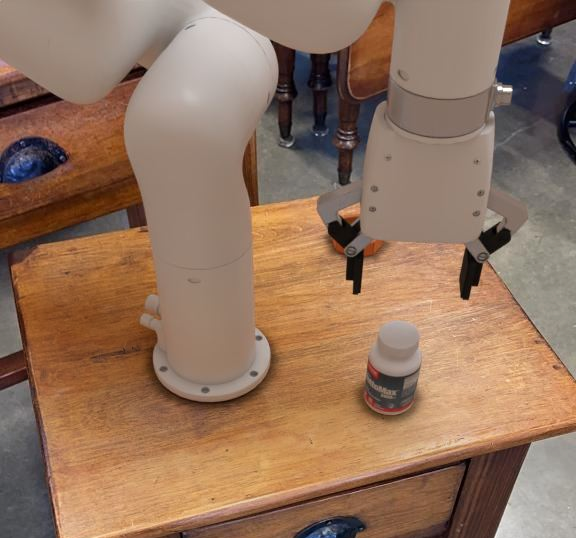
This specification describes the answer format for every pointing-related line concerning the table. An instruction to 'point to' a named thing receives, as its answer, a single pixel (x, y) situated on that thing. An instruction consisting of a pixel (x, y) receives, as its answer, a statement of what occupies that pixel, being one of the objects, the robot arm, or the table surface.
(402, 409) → the pill bottle
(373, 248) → the bowl
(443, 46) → the robot arm
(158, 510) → the table surface
